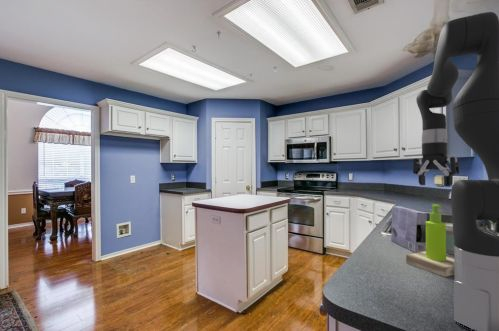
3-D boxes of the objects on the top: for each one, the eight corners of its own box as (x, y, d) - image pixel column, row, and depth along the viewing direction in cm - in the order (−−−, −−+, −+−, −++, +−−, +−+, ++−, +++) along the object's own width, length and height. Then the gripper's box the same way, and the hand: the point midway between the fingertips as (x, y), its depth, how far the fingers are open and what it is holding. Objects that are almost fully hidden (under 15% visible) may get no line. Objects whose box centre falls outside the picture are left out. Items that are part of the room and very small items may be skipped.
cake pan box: (429, 254, 101) (428, 212, 101) (417, 254, 101) (416, 212, 101) (400, 241, 120) (400, 205, 120) (390, 240, 120) (390, 205, 120)
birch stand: (444, 276, 79) (444, 267, 80) (406, 262, 92) (406, 254, 92) (467, 270, 84) (467, 262, 84) (428, 258, 96) (427, 250, 96)
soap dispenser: (428, 260, 86) (427, 204, 86) (424, 254, 92) (424, 202, 93) (448, 263, 83) (448, 205, 84) (444, 257, 89) (443, 203, 90)
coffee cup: (461, 251, 105) (461, 224, 105) (467, 257, 97) (466, 228, 98) (437, 248, 109) (436, 221, 109) (440, 253, 102) (440, 225, 102)
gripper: (408, 143, 94) (408, 185, 94) (450, 139, 81) (450, 187, 81) (420, 144, 97) (421, 184, 97) (463, 140, 84) (463, 187, 83)
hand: (434, 185), depth 89 cm, fingers open, 8 cm apart
